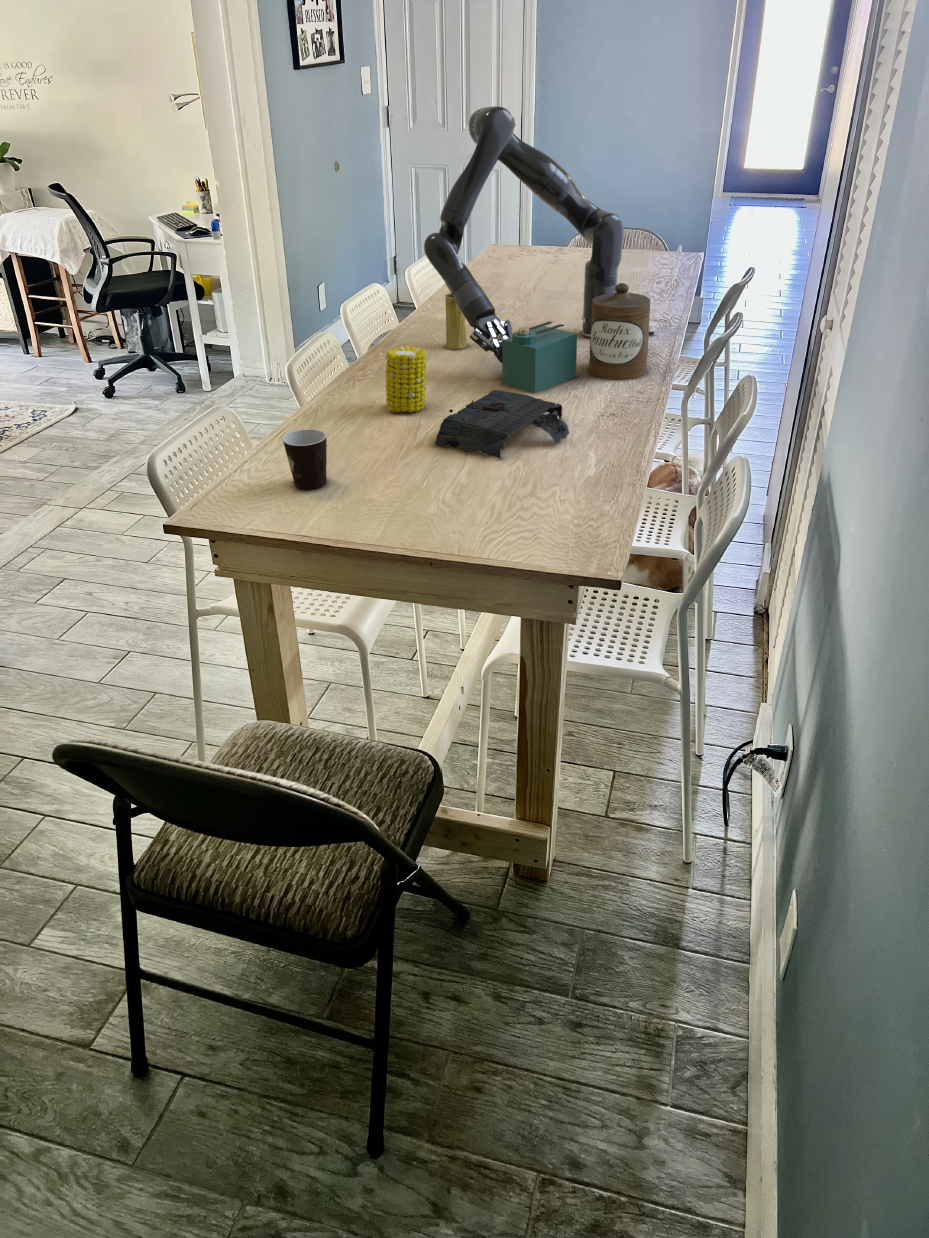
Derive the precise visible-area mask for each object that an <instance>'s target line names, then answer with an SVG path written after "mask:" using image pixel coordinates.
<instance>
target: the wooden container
mask: <svg viewBox="0 0 929 1238" xmlns="http://www.w3.org/2000/svg"><path fill="white" fill-rule="evenodd" d="M629 290H630V285H628V284H627V283H625V282H619V283H617V285H616V287H615V291H617V292H616V293H609V294H603V295H600V296H597V297H595V298H593V300H592V324H591V338H590V340H589V361H588V369H589V370H588V371H589V373H590V374H591V375H593V376H595V377H598V378H602V379H606V380H607V379H608V380H630V379H635V378H639V377H641V376H644V374H646V373H647V367H648V365H647V364H648V356H649V355H648V353H649V341H650V340H649V339H650V335H649V332H650V319H651V318H650V316H651V315H650V312H651V298H649V297H648V296H646V295H644V294H639V293H634V292H629Z"/></svg>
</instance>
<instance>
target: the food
mask: <svg viewBox="0 0 929 1238" xmlns="http://www.w3.org/2000/svg"><path fill="white" fill-rule="evenodd" d="M385 356H386V357H385V359H386V363H385V378H386V379H385V388H386V389H385V395H386V397H385V401H386V407H387V411H388V412H392V413H395V412H396V413H400V412H408V413H413V412H414V413H418V412H421V411H422V410H423V409H425V407H426V404H425V402H426V394H427V393H426V386H425V385H427V382H426V377H427V376H426V373H427V371H426V367H427V364H426V360H427V357H426V351H425V349H423V348H421V347H415V346H409V345H408V344H407V345H404V346H403V345H400V346H398V347H392V348H391V349H388V350H387V351H386V355H385Z"/></svg>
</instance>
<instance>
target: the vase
mask: <svg viewBox="0 0 929 1238" xmlns="http://www.w3.org/2000/svg"><path fill="white" fill-rule="evenodd" d="M444 299H445V300H444V301H445V302H444V303H445V348H447V349H449V350H462V349H466V348H467V347H468V341H467V331H466V318H465V316H464V315H463V313H462V312H461V310H460V308H459V307H458V305H457V303H456V301H455V299H454V297H453V295H452V294H451V292H449V293H447V294H445V297H444Z"/></svg>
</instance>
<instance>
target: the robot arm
mask: <svg viewBox="0 0 929 1238" xmlns="http://www.w3.org/2000/svg"><path fill="white" fill-rule="evenodd" d="M467 128H468V132H469V135H470V138H471V140H472V142H473V143H474V144H475V149H474V151H473V154H472V155H471V157H470V159H469V161H468V163H467V164H466V166H465V168H464V169H463V170H462V172H461V173H460V175H459V176H458V177H457V179H456V181H455V182H454V184H453V185H452V187H451V189H450V191H449V193H448V195H447V198H446V200H445V202H444V205H443V207H442V210H441V211H440V216H439V220H440V221H439V222H440V229H439V231H438V232H432V233H430V234H429V235H427V236H426V238H425V240H424V243H423V251H424V255H425V256H426V258H427V260H428V261H429V263H430V264H431V265H432V267H433V268H434V269H435V271H436V272H437V273H438V275H439V276H440V277H441V279H442V280H443V282H444V284H445V286H446V287H447V289H448V291H449V293H451V294H452V295H453V297H454V299H455V301H456V303H457V305H458V307H459V308H460V310H461V312H462V313H463V315H464V316H465V321H467V323H468V325H469V326H470V327H471V328H473V331H472V333H470V335H469V338H470V340H472V341H473V342H474V343H475V344H476V345H477V346H478V347H480V348H481V349H482V350H483V351H485V352H486V353H487V352H491V353H493V355H494V354H495V356H494V357H496V359H497V361H499V362H500V364H502V348H501V347H499V344H498V343H500V342H502V340H504V339H507V338H510V337H512V334H513V333H514V332H513V329H512V324H511V321H510V320H509V319H506V320H501V319H500V318H499V317H498V316H497V315H496V308H495V307H494V305H493V303H492V302H491V300H490V298H489V297H488V296H487V294H486V292H485V291H484V289H483V288H482V287H481V285H480V284H479V283H478V281H477V280H476V279H475V276H474V275H473V273H472V271H471V270H470V269H469V267H468V266H467V265H466V264H465V263H464V262H463V261H462V259H461V258H460V257H459V255H458V254H459V252H460V250H461V249H460V248H461V245H462V242H463V237H464V233H465V229H466V226H467V224H468V222H469V219H470V217H471V214H472V212H473V210H474V207H475V205H476V203H477V200H478V198H479V196H480V194H481V192H482V190H483V187H484V186H485V184H486V182H487V180H488V177H489V176H490V174H491V173H492V171H493V169H494V167H495V166H496V164H497V162H498V161H499V162H500V163H501V164H502V165H504V166H505V167H506V168H507V169H508V170H509V171H510V172H511V173H512V174H513V175H514V176H515V177H516V178H517V179H518V180H520V182H521V183H523V184H524V185H525V186H526V187H527V188H528V189H529V190H530V191H531V192H532V193H533V194H534V195H535V196H537V198H539V199H540V200H541V201H542V202H544V203H545V204H546V205H547V206H549V207H550V208H551V209H552V210H554V211H555V212H556V213H558V214H560V215H561V216H562V217H563V218H565V219H566V220H567V222H569V223H570V224H571V226H572V227H574V229H575V230H576V231H577V232H578V233H579V235H580V236H581V237H582V238H583V239H584V240H585V241H586V242H587V243H588V244H590V245H592V247H591V257H590V259H589V260H587V261H586V262H585V264H584V278H583V279H584V281H583V283H584V284H583V307H582V311H583V312H582V316H581V321H582V327H581V328H582V330H581V335H582V336H583V337H585V338H591V324H592V300H593V298H595V297H597V296H600V295H603V294H609V293H616V292H617V291H615V287H616V285H618V274H619V273H618V272H619V266H620V264H621V263H622V258H623V247H624V235H625V233H624V231H625V229H624V223H623V221H622V219H621V217H620V216H619V215H617V214H615V213H614V212H610V211H607V210H604V209H601V208H599V206H597V205H595V204H594V203H593V202H591V200H589V199H588V198H587V197H585V196H584V195H583V194H582V193H581V191H580V189H579V188H578V186H577V184H576V183H575V181H574V179H573V178H572V177H571V175H570V174H569V173H568V172H567V171H566V169H565V168H563V167H562V166H561V165H560V164H559V163H558V162H557V161H555V159H553V158H552V157H550V156H549V155H548V154H546V153H545V152H543V151H541V150H539V149H538V148H536V147H534V146H532V145H530V144H529V143H526V142H525V141H523V140H522V139H521V138H520V137H518V136H517V135H516V134H515V133H514V130H515V121H514V117H513V115H512V114H511V112H510V111H509V110H508V109H507V108H505V107H503V106H497V105H496V106H493V105H492V106H485V107H481V108H478V109H476V110H475V111H474V112H472V114H471V115H470V117H469V118H468V127H467ZM649 336H655V331H654V330H653V331H649Z"/></svg>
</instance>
